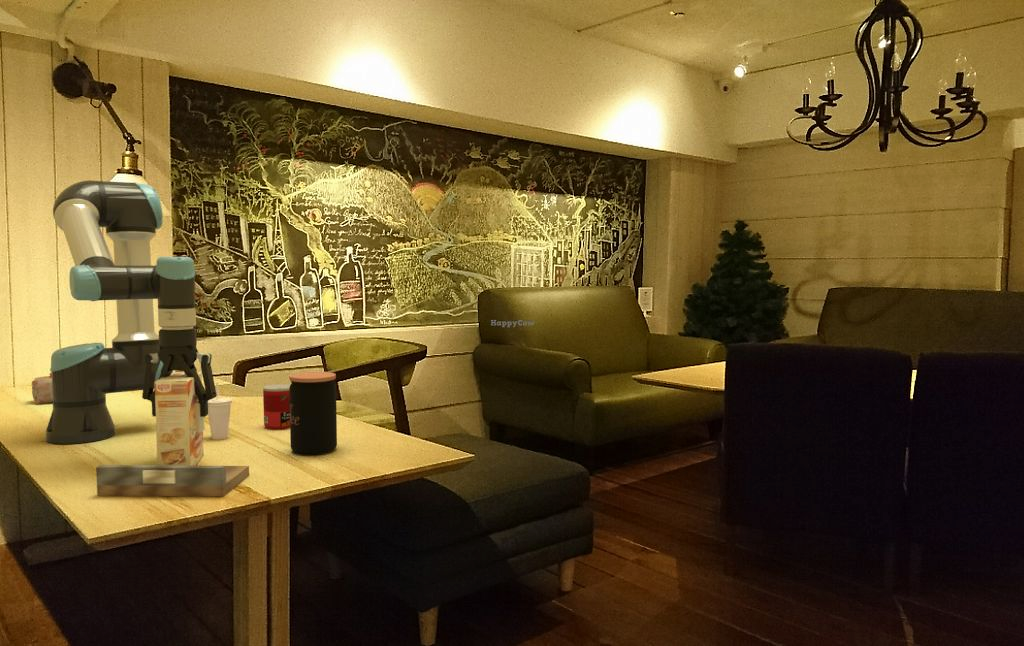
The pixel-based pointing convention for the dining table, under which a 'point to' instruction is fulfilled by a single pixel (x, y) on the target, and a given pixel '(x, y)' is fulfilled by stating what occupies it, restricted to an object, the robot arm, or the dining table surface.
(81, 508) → the dining table surface
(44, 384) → the food item
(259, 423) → the dining table surface
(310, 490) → the dining table surface
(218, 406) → the smoothie
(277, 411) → the canned food
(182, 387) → the coffeecake box
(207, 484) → the shelf board
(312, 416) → the coffee jar
